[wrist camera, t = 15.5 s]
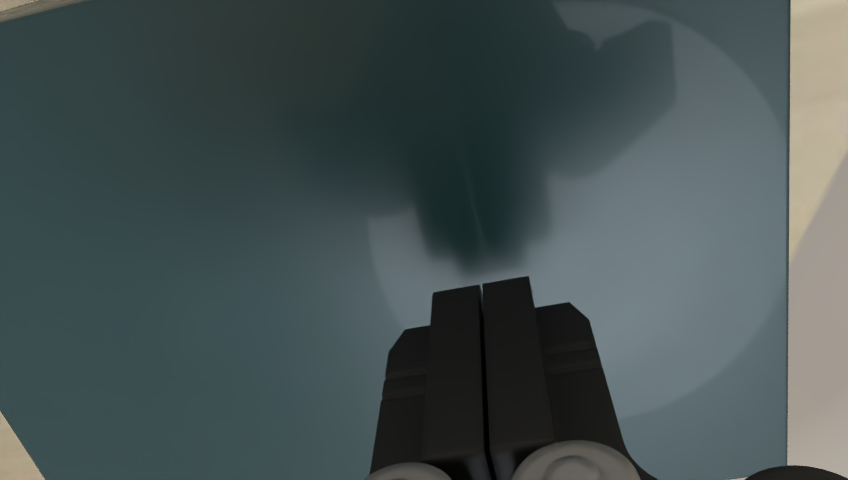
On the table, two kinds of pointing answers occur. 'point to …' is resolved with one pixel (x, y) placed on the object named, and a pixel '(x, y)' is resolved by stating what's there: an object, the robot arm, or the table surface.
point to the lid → (383, 219)
